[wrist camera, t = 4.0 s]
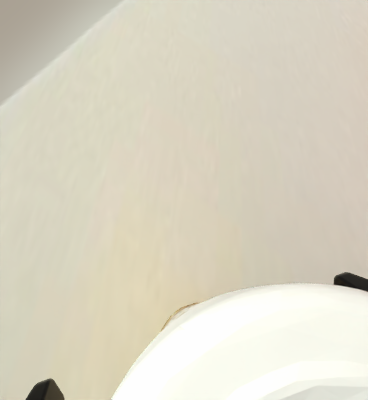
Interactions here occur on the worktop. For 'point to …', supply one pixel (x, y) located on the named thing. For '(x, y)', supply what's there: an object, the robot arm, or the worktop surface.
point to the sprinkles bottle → (259, 348)
